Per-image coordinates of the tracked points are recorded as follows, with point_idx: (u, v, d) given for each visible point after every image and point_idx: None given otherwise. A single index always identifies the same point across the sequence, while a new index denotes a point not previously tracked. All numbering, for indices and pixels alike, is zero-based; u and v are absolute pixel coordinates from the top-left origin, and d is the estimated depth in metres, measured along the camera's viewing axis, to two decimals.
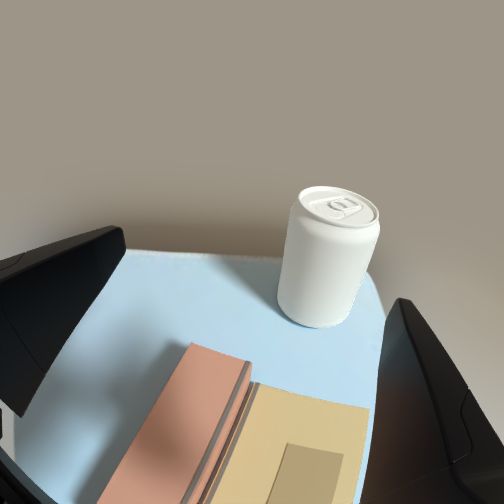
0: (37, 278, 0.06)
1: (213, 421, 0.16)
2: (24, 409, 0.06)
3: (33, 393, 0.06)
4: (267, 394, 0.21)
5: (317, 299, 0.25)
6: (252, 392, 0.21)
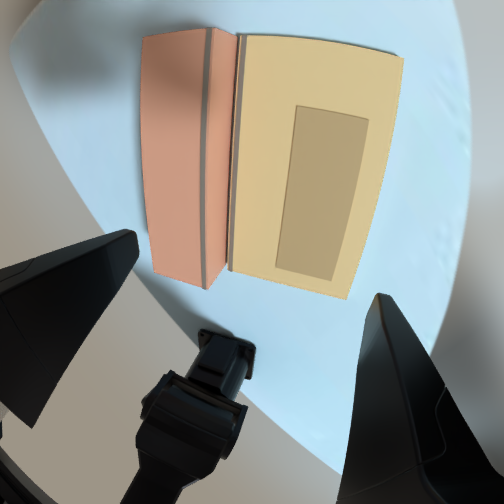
0: (48, 285, 0.06)
1: (196, 116, 0.15)
2: (35, 420, 0.06)
3: (43, 402, 0.06)
4: (260, 46, 0.14)
5: None
6: (241, 49, 0.15)
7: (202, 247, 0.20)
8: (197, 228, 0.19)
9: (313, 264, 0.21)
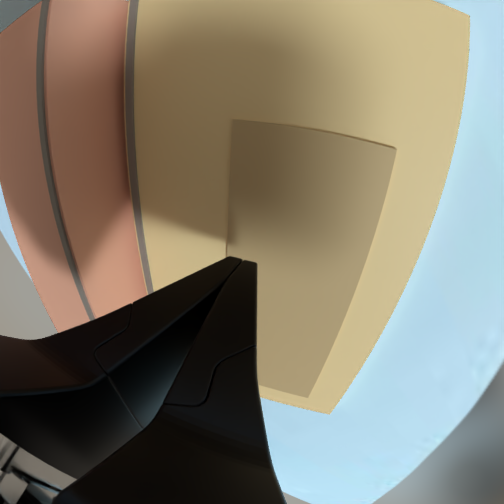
0: (162, 342, 0.05)
1: (41, 168, 0.07)
2: None
3: None
4: (159, 6, 0.06)
5: None
6: (128, 20, 0.06)
7: None
8: None
9: (280, 379, 0.13)
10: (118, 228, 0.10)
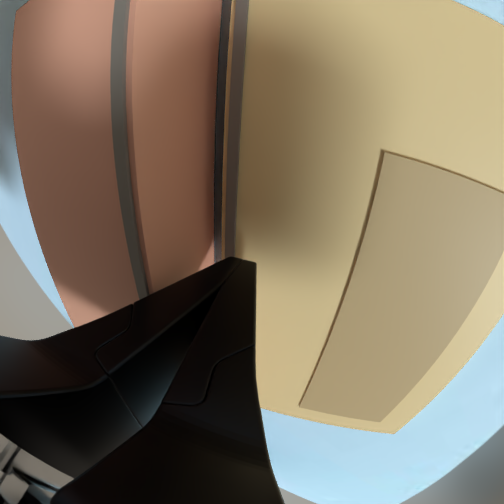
0: (163, 342, 0.05)
1: (109, 190, 0.05)
2: None
3: None
4: None
5: None
6: None
7: None
8: None
9: (358, 408, 0.11)
10: (199, 264, 0.09)
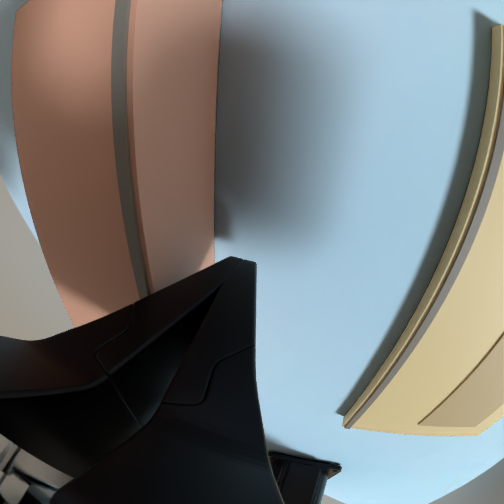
0: (164, 342, 0.05)
1: (109, 190, 0.05)
2: None
3: None
4: None
5: None
6: None
7: None
8: None
9: (467, 418, 0.10)
10: (199, 264, 0.09)
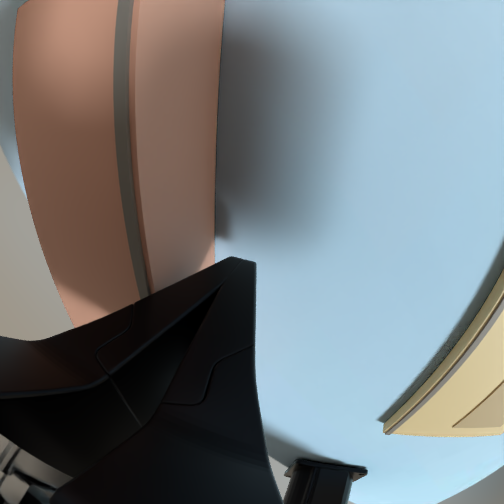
0: (164, 343, 0.05)
1: (110, 190, 0.05)
2: None
3: None
4: None
5: None
6: None
7: None
8: None
9: (495, 418, 0.09)
10: (199, 264, 0.09)
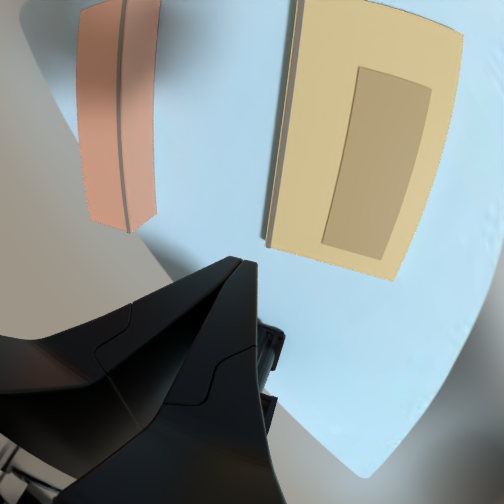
0: (162, 342, 0.05)
1: (113, 68, 0.14)
2: None
3: None
4: (320, 3, 0.11)
5: None
6: (298, 4, 0.11)
7: (122, 188, 0.19)
8: (117, 170, 0.18)
9: (364, 241, 0.18)
10: (144, 108, 0.18)
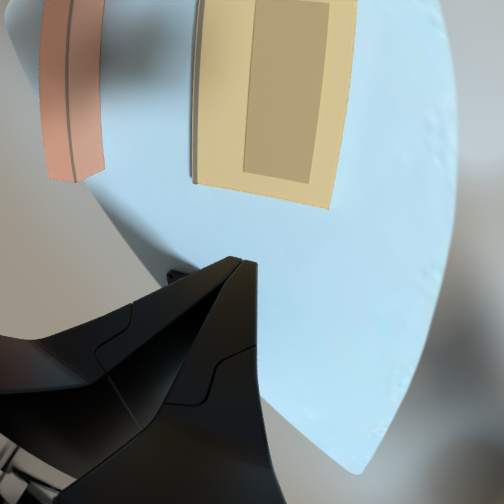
0: (162, 342, 0.05)
1: (64, 41, 0.14)
2: None
3: None
4: None
5: None
6: None
7: (69, 140, 0.18)
8: (66, 125, 0.18)
9: (285, 163, 0.18)
10: (90, 72, 0.17)
